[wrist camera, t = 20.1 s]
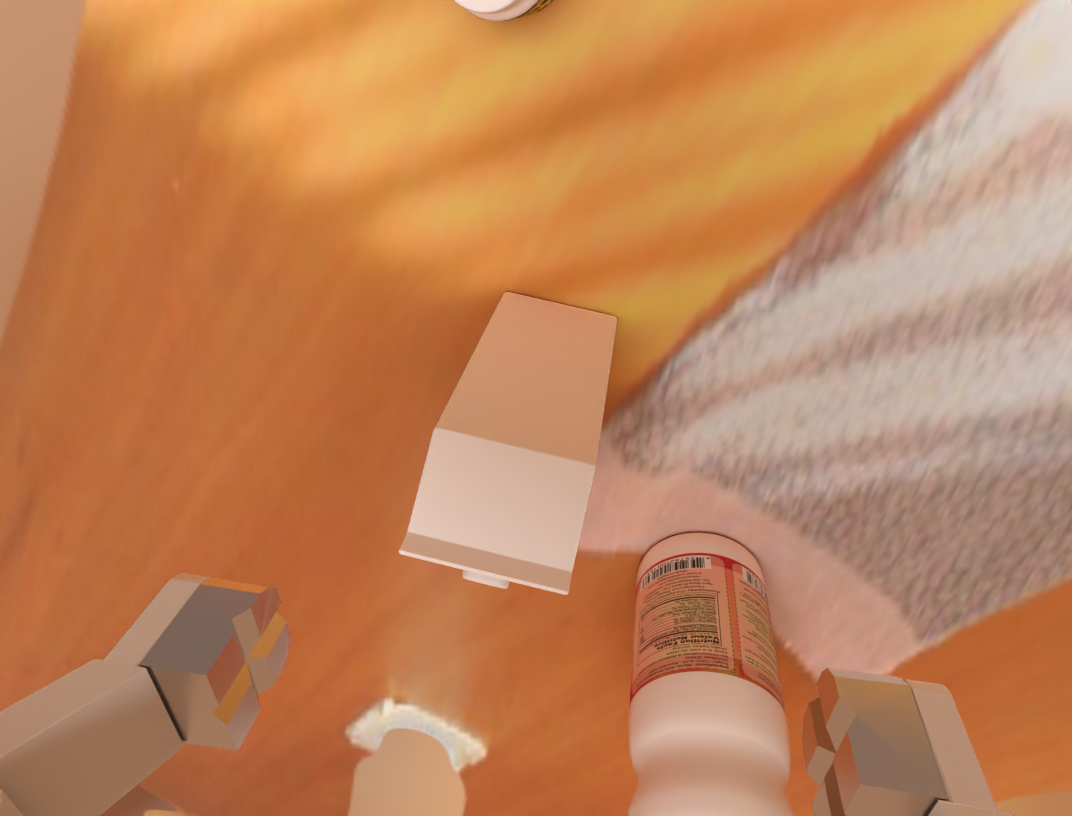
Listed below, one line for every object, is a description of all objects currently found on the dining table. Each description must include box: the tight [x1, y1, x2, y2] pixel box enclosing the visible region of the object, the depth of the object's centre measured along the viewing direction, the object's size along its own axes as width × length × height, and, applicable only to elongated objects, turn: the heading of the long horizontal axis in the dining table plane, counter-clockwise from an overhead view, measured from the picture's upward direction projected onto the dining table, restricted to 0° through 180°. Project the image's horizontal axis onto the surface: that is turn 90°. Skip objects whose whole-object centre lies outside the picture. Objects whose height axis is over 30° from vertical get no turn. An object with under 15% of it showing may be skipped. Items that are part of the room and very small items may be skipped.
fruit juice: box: [627, 533, 795, 816], centre depth 40 cm, size 9×9×28 cm
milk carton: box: [399, 292, 617, 595], centre depth 35 cm, size 7×7×19 cm
